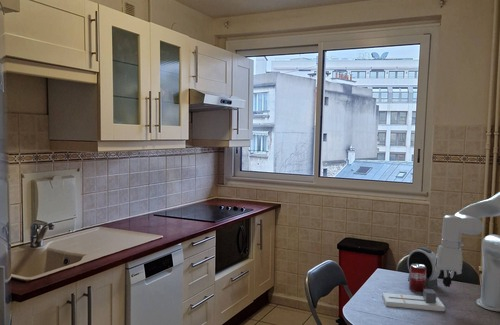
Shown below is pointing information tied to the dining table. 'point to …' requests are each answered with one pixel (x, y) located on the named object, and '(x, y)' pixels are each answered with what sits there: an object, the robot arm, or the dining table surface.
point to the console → (411, 302)
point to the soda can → (417, 278)
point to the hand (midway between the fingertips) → (446, 285)
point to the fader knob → (429, 295)
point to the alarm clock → (425, 264)
